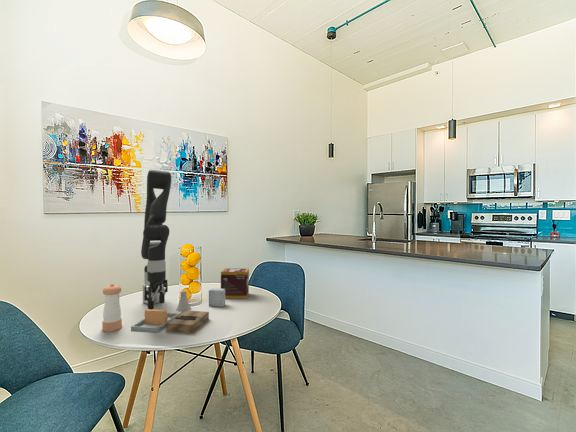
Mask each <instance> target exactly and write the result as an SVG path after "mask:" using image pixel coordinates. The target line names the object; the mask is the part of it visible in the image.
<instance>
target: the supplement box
mask: <svg viewBox="0 0 576 432" xmlns="http://www.w3.org/2000/svg"><path fill="white" fill-rule="evenodd" d="M249 271H250V269H249V268H224V269H223V270H221V272H220V289H225V299H247V298H248V296H249V292H250V291H249V287H250V283H249V282H250V281H249V277H250V272H249Z"/></svg>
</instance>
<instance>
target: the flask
mask: <svg viewBox="0 0 576 432" xmlns="http://www.w3.org/2000/svg"><path fill="white" fill-rule="evenodd" d="M179 293H180V297H179V302H178V304H177V307H176V311H177V312H179V313H181V312H183V311H184V310H186V311H191V310H192V307H191V305H190V303H189V300H188V297H187V295H188V294H187V293H188V290H187V291H186V290H182V291H180V292H179Z"/></svg>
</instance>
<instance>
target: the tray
mask: <svg viewBox="0 0 576 432" xmlns="http://www.w3.org/2000/svg"><path fill="white" fill-rule="evenodd" d="M178 314H180V312H179V313H175V312H167V318H168V317H171V318H170V319H167V321H166V322H165V323H163V324H159V325H158V327H151V326H143V325H145V323H144V318H143V319H142V320H140V321H138V322H136V323H134V324H133V325H131V326H130V332H133V331H136V332H137V331H139V332H151V333H159V332H160V331H161V330H163V329H164V328H166V323H167V322H168V321H170V320H171V319H172V318H174V317H175V316H177V315H178Z"/></svg>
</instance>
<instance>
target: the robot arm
mask: <svg viewBox="0 0 576 432" xmlns="http://www.w3.org/2000/svg"><path fill="white" fill-rule="evenodd" d="M171 187H172V174H171V172H169V171H165V170H158V169H150V170H148V172H147V175H146V199H145V200H146V203H145V212H144V220H143V221H144V222H143V223H144V225H143V233H142V243H141V251H140V255H141V257H142V259H143V260H147V264H146V265H145V266H144V267H143V268H144V269H143V270H144V272H143V273H144V277H143V278H144V280H143V281H144V282H143V283H144V284H143V285H142V303H144V304H146V305H147V309H151V310H155V305H156V304H164V303H165V302H166V301H165V298H166V297H165V295H166V294H167V293H168V290H169V288H168V286H169V285H168V279H167V278H166V276H167V271H166V270H167V268H166V267H167V265H166V263H167V262H166V247H167V243H168V239H169V236H170V227H169V226H168V225H166V224H164V223H166V220H167V207H168V202H169V197H170V193H171ZM154 189H156V190H162V192H161V193H160V194H159V195H158V196H157V195H156V194H155V190H154Z"/></svg>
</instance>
